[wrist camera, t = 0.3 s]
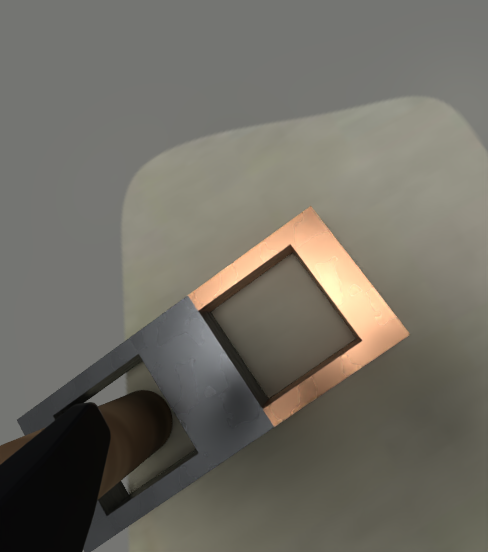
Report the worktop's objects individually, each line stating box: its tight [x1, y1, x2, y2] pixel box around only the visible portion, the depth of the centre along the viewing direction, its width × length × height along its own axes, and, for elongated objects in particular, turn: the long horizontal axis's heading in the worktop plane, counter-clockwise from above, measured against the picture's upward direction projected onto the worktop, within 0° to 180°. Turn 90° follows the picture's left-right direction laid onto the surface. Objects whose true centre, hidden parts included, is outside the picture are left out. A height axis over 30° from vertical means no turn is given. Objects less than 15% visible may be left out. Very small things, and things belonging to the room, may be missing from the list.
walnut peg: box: [0, 390, 172, 499], centre depth 18 cm, size 4×4×10 cm
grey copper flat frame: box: [17, 206, 410, 552], centre depth 21 cm, size 8×20×2 cm, turn 125°
